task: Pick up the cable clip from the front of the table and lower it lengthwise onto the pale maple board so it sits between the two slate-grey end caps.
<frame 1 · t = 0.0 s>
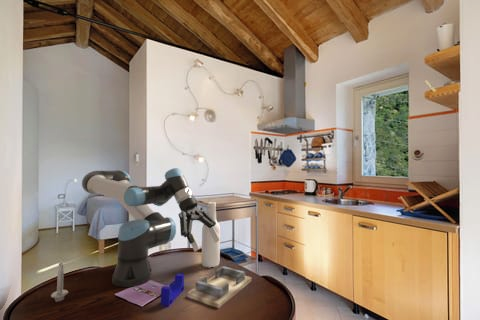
hand: (208, 245, 102), 15 cm above the table, tool tilted 35°, fingers open, 13 cm apart
alcohol: (210, 264, 122), on the table
cable clip: (171, 297, 91), on the table
screw: (59, 300, 87), on the table
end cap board: (221, 288, 98), on the table
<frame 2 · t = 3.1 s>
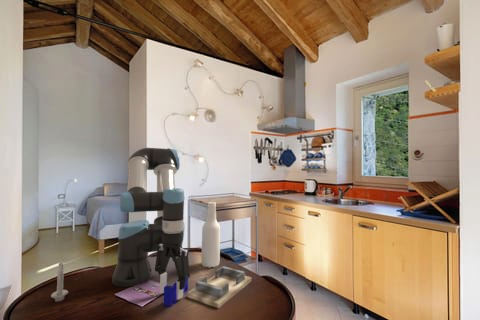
hand: (171, 294, 91), 1 cm above the table, tool pointing down, fingers open, 8 cm apart
cable clip: (174, 297, 91), on the table, touching gripper
everything else where it was.
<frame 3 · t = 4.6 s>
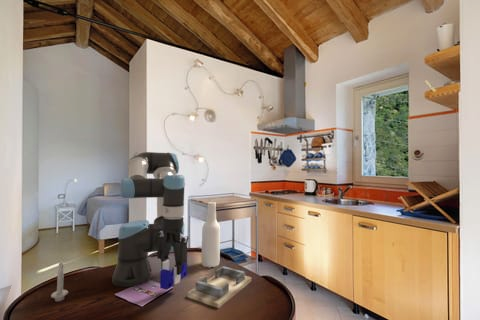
hand: (171, 280, 92), 6 cm above the table, tool pointing down, fingers closed on cable clip, 5 cm apart
cable clip: (172, 281, 92), point 5 cm above the table, touching gripper
everything else where it was.
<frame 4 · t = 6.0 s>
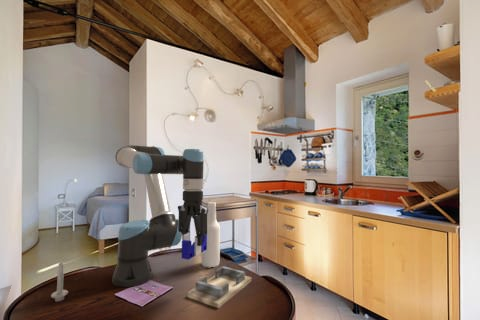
hand: (192, 252, 93), 15 cm above the table, tool pointing down, fingers closed on cable clip, 5 cm apart
cable clip: (193, 254, 94), point 15 cm above the table, touching gripper
everything else where it was.
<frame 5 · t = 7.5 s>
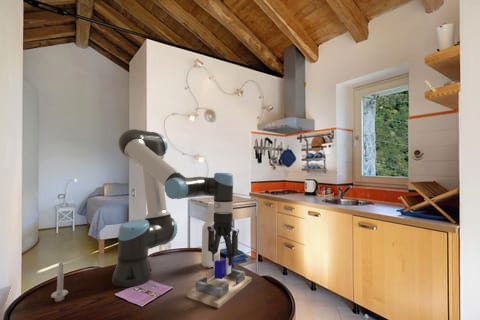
hand: (222, 271, 98), 6 cm above the table, tool pointing down, fingers closed on cable clip, 5 cm apart
cable clip: (223, 272, 99), point 6 cm above the table, touching gripper
everything else where it was.
when the fingers open (3 cm above the table, at t = 8.8 s): cable clip drops 1 cm, resting on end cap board.
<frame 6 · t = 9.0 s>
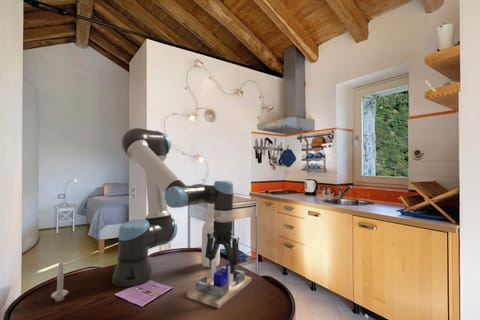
hand: (221, 279, 98), 4 cm above the table, tool pointing down, fingers open, 7 cm apart
cable clip: (222, 284, 99), point 1 cm above the table, touching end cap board
everything else where it was.
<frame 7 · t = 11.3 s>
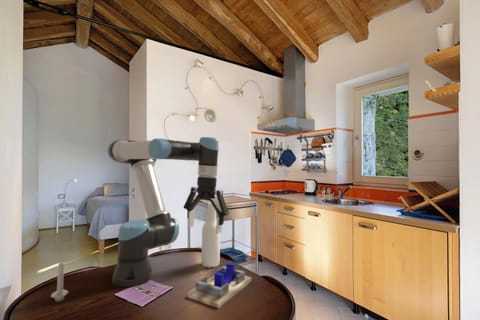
hand: (204, 230, 99), 22 cm above the table, tool pointing down, fingers open, 13 cm apart
nothing on the table moved.
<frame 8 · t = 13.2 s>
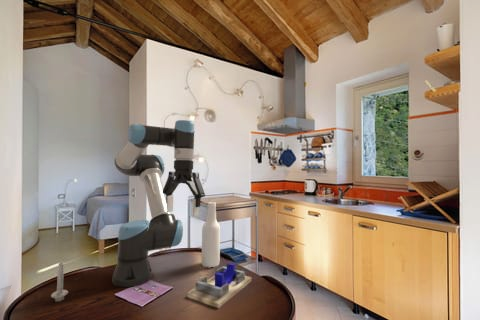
hand: (182, 213, 99), 29 cm above the table, tool pointing down, fingers open, 13 cm apart
nothing on the table moved.
at the end: cable clip 1.0 cm off-centre on the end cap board, point 1.3 cm above the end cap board's base; cable clip tilted 0°; the gripper is holding nothing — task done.
